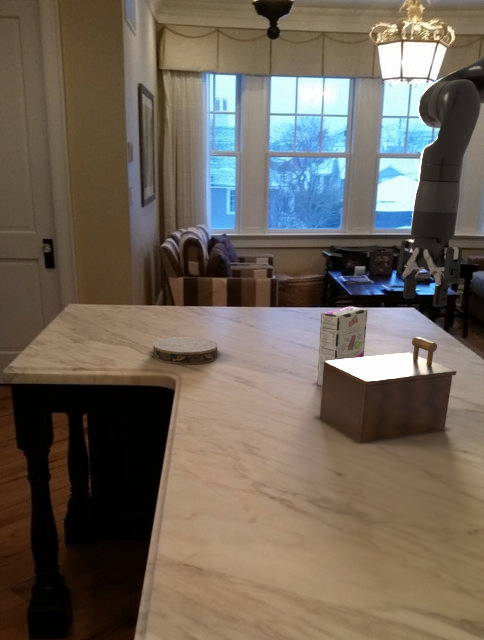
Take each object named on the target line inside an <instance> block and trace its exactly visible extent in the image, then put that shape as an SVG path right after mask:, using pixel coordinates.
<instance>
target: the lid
mask: <svg viewBox="0 0 484 640" xmlns="http://www.w3.org/2000/svg"><path fill="white" fill-rule="evenodd" d="M411 345H412V346H413V353H412V352H411V353H410V352H403V353H393V354H383V355H372V356H364V357H361V358H351V359H341V360H331V361H324V366H326V367H328V368H330V369H333V370H335V371H337V372H339V373H341V374H343V375H345V376H347V377H349V378H351V379H353V380H355V381H357V382H359V383H362V384H364V385H366V386H368V385H376V384H385V383H393V382H402V381H410V380H419V379H427V378H436V377H444V376H452V377H453V376H457V370H455V369H453V368H450V367H448V366H445V365H443V364H440V363H437V362H435V361H433V358H434V353H435V352H436V351H437V349H438V344H437V343H436V342H433V341H431V340H428V339H425V338H423V337H419V336H415V337H413V338H412V340H411ZM420 349H421V350H424V351H427V357H426V358H424V357H421V356H419V352H420Z"/></svg>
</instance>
